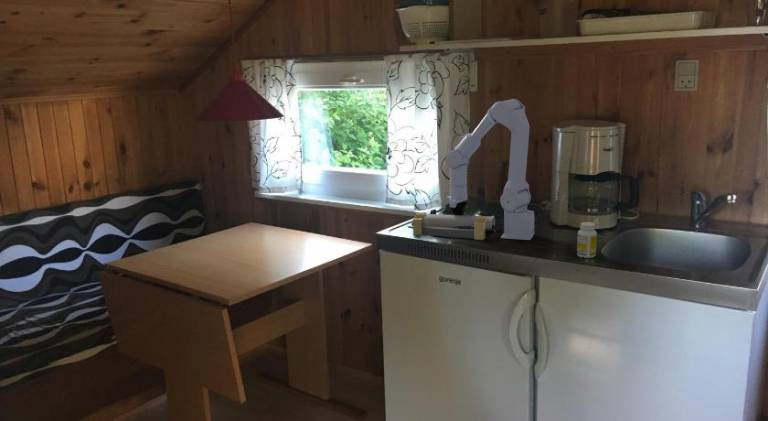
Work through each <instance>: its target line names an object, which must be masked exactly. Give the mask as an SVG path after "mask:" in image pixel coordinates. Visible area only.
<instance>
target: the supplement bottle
mask: <svg viewBox="0 0 768 421" xmlns="http://www.w3.org/2000/svg"><path fill="white" fill-rule="evenodd" d="M595 229H596V223H594V222H589V221H585V222H581V223H580V229H579V230H578V231H577V243H576V244H577V245H576V255H577V257H579V258H583V257H584V258H585V259H589V258H595V256H596V255H597V240H598V233H597V231H596V230H595Z"/></svg>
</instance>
